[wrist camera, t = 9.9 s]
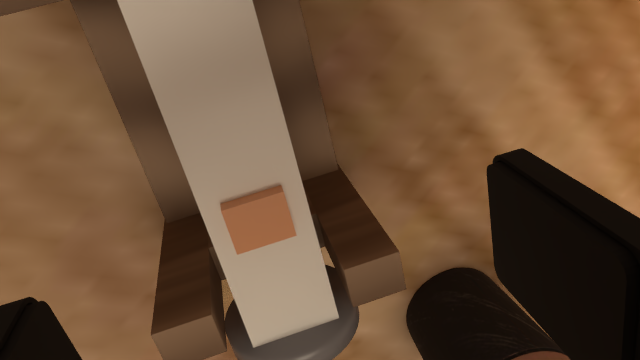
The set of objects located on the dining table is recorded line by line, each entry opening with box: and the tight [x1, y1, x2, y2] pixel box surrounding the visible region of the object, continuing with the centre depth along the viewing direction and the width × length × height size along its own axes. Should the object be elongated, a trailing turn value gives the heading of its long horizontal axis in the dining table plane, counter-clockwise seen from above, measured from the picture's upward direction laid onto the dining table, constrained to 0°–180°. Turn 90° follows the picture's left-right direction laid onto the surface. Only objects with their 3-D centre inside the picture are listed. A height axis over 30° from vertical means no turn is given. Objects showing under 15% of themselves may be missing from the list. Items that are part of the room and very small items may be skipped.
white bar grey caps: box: [117, 0, 359, 360], centre depth 19 cm, size 21×6×6 cm, turn 13°
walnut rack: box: [0, 0, 406, 360], centre depth 21 cm, size 18×10×10 cm, turn 13°
